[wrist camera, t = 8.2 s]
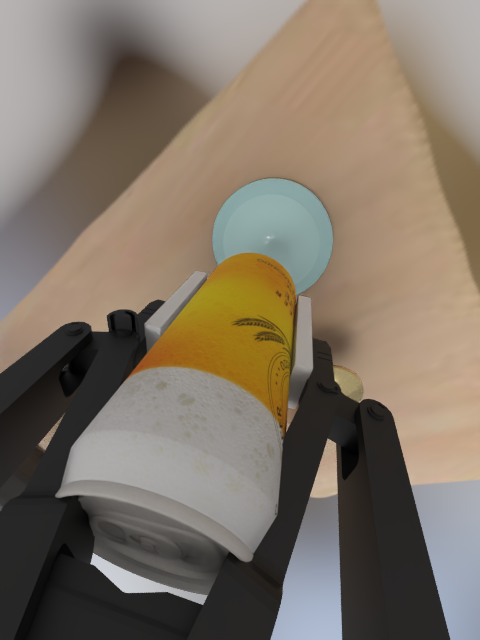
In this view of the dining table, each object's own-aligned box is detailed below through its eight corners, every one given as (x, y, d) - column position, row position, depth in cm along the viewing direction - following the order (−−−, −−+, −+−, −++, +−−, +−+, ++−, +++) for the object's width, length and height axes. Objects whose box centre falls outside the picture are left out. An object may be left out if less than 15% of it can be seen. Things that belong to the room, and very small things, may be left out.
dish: (210, 282, 33) (207, 286, 32) (222, 166, 26) (218, 166, 25) (310, 306, 32) (310, 311, 31) (351, 192, 25) (353, 193, 24)
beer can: (286, 333, 20) (253, 619, 8) (210, 316, 21) (68, 555, 8) (306, 257, 17) (305, 548, 4) (215, 241, 17) (-10, 450, 5)
